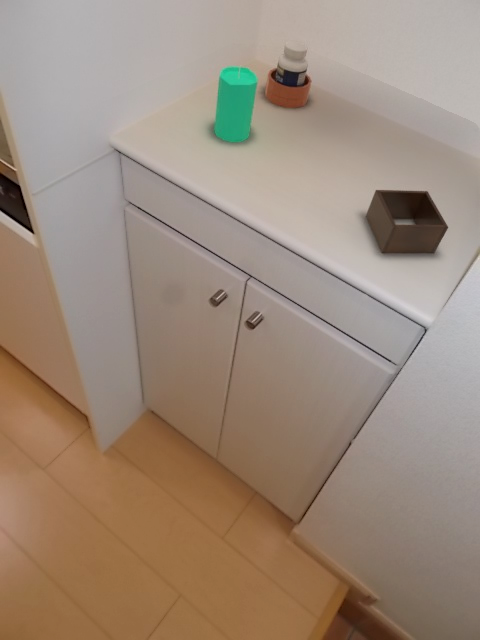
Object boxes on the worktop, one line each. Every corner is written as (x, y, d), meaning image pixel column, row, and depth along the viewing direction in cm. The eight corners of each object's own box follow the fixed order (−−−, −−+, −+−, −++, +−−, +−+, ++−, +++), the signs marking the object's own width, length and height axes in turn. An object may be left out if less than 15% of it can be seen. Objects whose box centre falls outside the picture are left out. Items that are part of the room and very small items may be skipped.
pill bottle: (266, 98, 98) (275, 44, 91) (281, 89, 101) (291, 36, 94) (290, 109, 97) (301, 55, 89) (304, 99, 100) (316, 46, 92)
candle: (223, 123, 91) (231, 52, 82) (254, 135, 90) (265, 64, 81) (207, 138, 88) (213, 66, 78) (239, 150, 86) (249, 79, 77)
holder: (413, 221, 80) (427, 190, 76) (431, 257, 75) (448, 227, 71) (363, 220, 78) (375, 189, 74) (379, 257, 73) (393, 226, 69)
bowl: (301, 91, 103) (306, 68, 99) (309, 113, 98) (315, 89, 94) (261, 89, 101) (265, 66, 98) (268, 110, 96) (272, 87, 93)
